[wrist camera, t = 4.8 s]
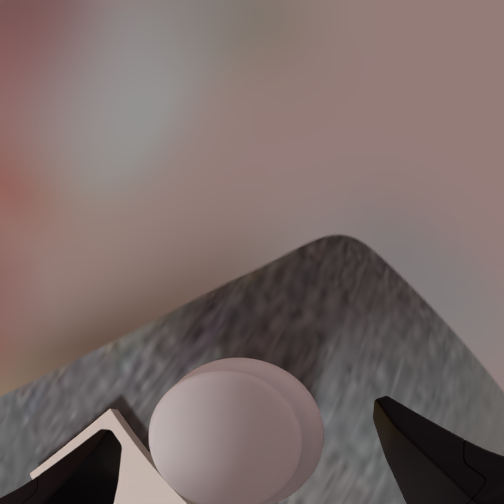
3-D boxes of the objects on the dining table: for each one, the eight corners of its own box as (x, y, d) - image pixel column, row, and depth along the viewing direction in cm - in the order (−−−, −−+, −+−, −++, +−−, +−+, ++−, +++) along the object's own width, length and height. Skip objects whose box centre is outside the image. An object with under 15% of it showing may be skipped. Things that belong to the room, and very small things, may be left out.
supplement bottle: (322, 398, 15) (369, 378, 6) (286, 481, 13) (283, 561, 4) (233, 367, 17) (171, 309, 8) (197, 446, 14) (95, 471, 5)
